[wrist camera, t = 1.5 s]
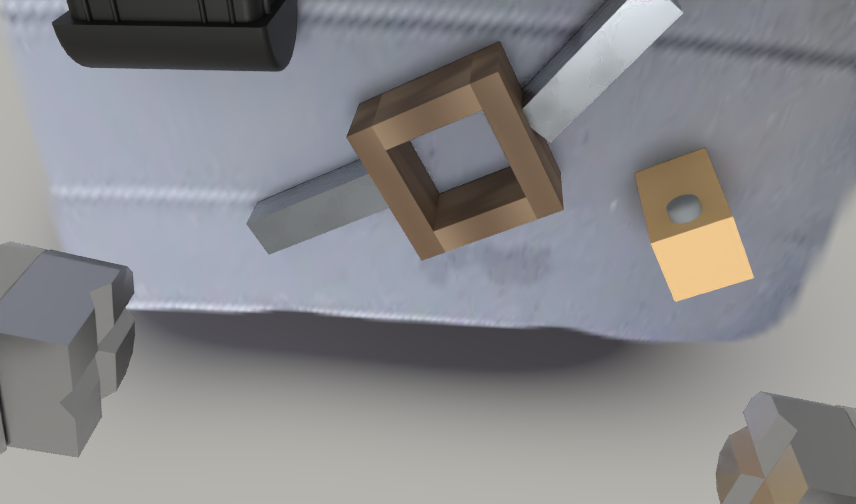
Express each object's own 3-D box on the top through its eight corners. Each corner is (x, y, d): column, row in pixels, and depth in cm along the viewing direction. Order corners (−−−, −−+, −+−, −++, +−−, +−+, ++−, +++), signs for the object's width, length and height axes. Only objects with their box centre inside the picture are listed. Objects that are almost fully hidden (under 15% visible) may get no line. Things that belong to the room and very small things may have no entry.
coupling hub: (499, 41, 41) (498, 71, 38) (560, 172, 45) (563, 209, 42) (359, 104, 44) (346, 137, 41) (428, 221, 48) (421, 260, 45)
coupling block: (702, 138, 43) (729, 206, 38) (727, 212, 46) (757, 286, 40) (630, 164, 45) (646, 234, 39) (659, 235, 47) (678, 310, 42)
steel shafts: (661, -45, 38) (669, -31, 36) (698, 65, 41) (706, 84, 39) (222, 153, 47) (209, 173, 45) (278, 232, 50) (268, 254, 48)
